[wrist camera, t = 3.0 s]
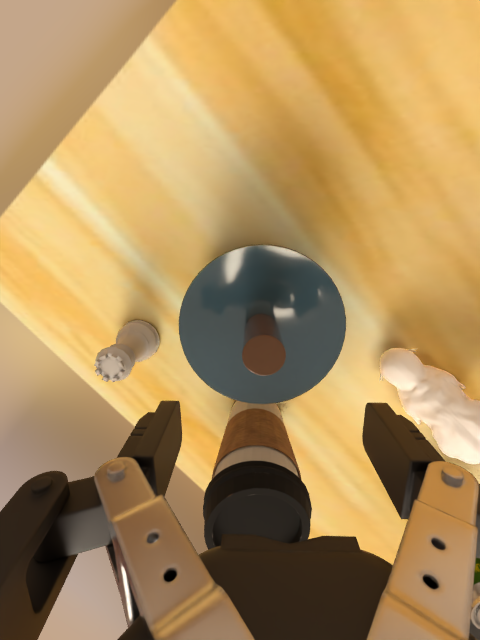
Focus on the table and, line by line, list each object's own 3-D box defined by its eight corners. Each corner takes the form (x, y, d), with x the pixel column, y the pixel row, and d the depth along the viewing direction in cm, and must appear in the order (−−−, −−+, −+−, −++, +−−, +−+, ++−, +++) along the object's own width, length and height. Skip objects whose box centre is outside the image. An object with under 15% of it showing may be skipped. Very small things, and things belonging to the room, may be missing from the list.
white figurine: (475, 487, 28) (379, 398, 27) (428, 433, 36) (354, 364, 35) (538, 443, 26) (438, 348, 25) (474, 397, 34) (398, 324, 34)
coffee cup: (204, 410, 37) (173, 527, 22) (261, 369, 35) (267, 466, 20) (249, 458, 38) (248, 595, 24) (305, 420, 36) (341, 545, 22)
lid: (243, 208, 22) (240, 199, 16) (376, 309, 23) (417, 335, 18) (152, 341, 25) (121, 375, 19) (275, 423, 26) (282, 478, 21)
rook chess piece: (116, 321, 34) (76, 348, 26) (155, 315, 34) (127, 341, 26) (126, 359, 35) (91, 395, 27) (164, 354, 35) (140, 389, 27)
